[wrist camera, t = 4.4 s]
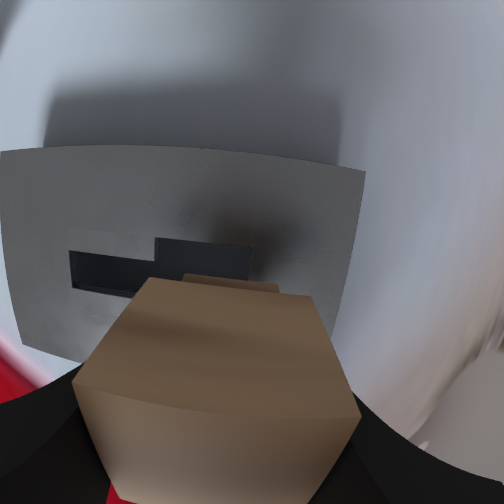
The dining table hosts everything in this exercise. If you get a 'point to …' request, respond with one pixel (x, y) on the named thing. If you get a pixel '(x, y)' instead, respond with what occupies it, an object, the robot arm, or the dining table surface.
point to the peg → (216, 395)
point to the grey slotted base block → (164, 226)
